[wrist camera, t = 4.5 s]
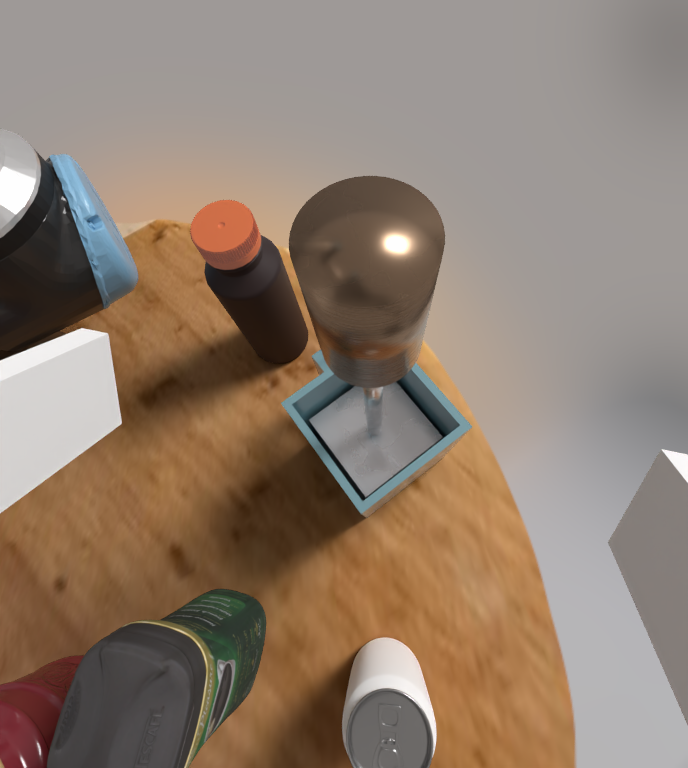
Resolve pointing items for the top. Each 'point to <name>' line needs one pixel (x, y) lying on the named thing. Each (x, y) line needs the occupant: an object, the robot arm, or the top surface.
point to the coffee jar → (161, 686)
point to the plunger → (370, 315)
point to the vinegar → (250, 280)
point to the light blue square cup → (419, 392)
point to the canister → (33, 713)
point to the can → (388, 709)
